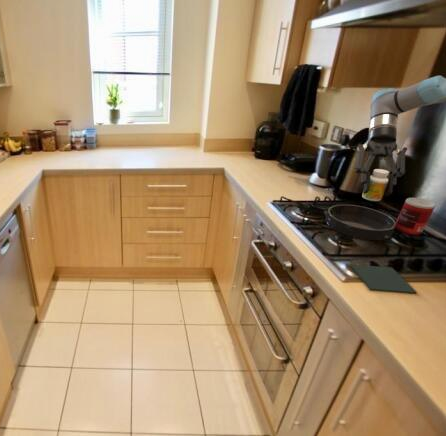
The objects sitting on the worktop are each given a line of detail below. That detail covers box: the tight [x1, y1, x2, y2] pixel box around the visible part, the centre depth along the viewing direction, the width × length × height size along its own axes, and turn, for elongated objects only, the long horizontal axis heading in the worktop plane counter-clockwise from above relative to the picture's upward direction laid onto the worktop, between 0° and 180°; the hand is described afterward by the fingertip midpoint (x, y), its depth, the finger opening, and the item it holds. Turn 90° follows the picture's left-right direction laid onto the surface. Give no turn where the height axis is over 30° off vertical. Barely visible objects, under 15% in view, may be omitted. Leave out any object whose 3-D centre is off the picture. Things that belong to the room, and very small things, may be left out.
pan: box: [324, 204, 396, 242], centre depth 115 cm, size 20×20×4 cm
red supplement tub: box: [395, 197, 436, 236], centre depth 110 cm, size 8×8×11 cm
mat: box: [350, 264, 417, 295], centre depth 89 cm, size 11×11×1 cm
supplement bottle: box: [361, 168, 389, 202], centre depth 105 cm, size 5×5×10 cm
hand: (377, 193), depth 103 cm, fingers closed on supplement bottle, 5 cm apart
